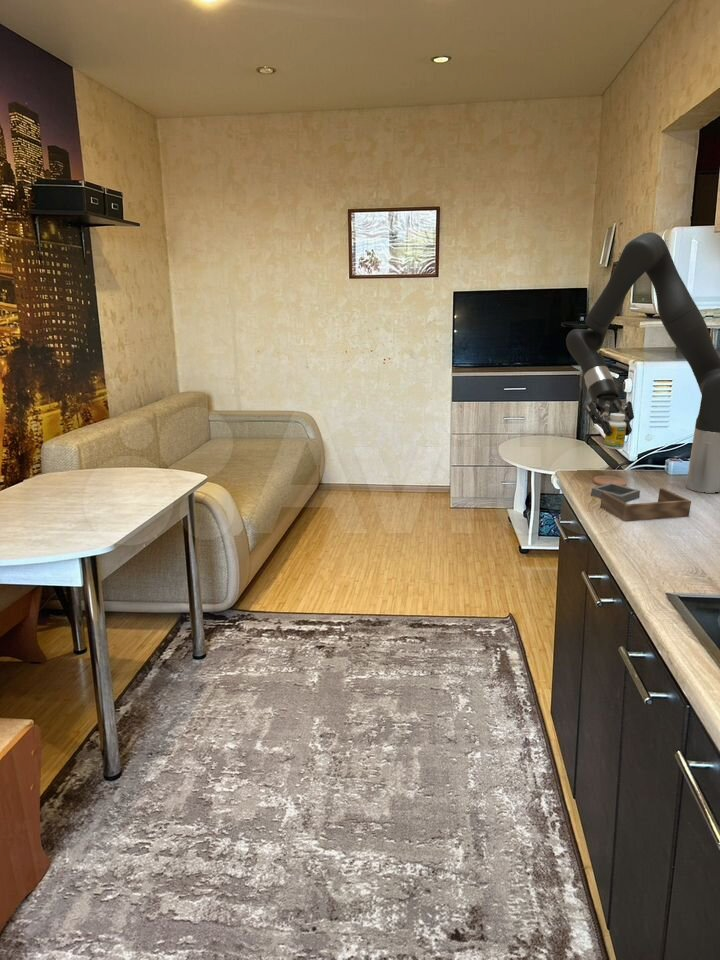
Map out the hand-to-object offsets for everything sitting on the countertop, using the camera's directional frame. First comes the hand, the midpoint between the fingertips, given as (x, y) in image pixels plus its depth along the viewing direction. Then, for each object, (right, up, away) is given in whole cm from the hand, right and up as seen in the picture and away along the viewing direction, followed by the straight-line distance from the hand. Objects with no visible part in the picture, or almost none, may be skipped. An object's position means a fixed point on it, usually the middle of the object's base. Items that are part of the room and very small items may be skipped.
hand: (619, 434), depth 191 cm
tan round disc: (0, -14, +6) cm, 15 cm away
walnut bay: (-1, -21, -17) cm, 27 cm away
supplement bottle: (0, -4, +3) cm, 5 cm away
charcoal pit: (-3, -17, -6) cm, 19 cm away
